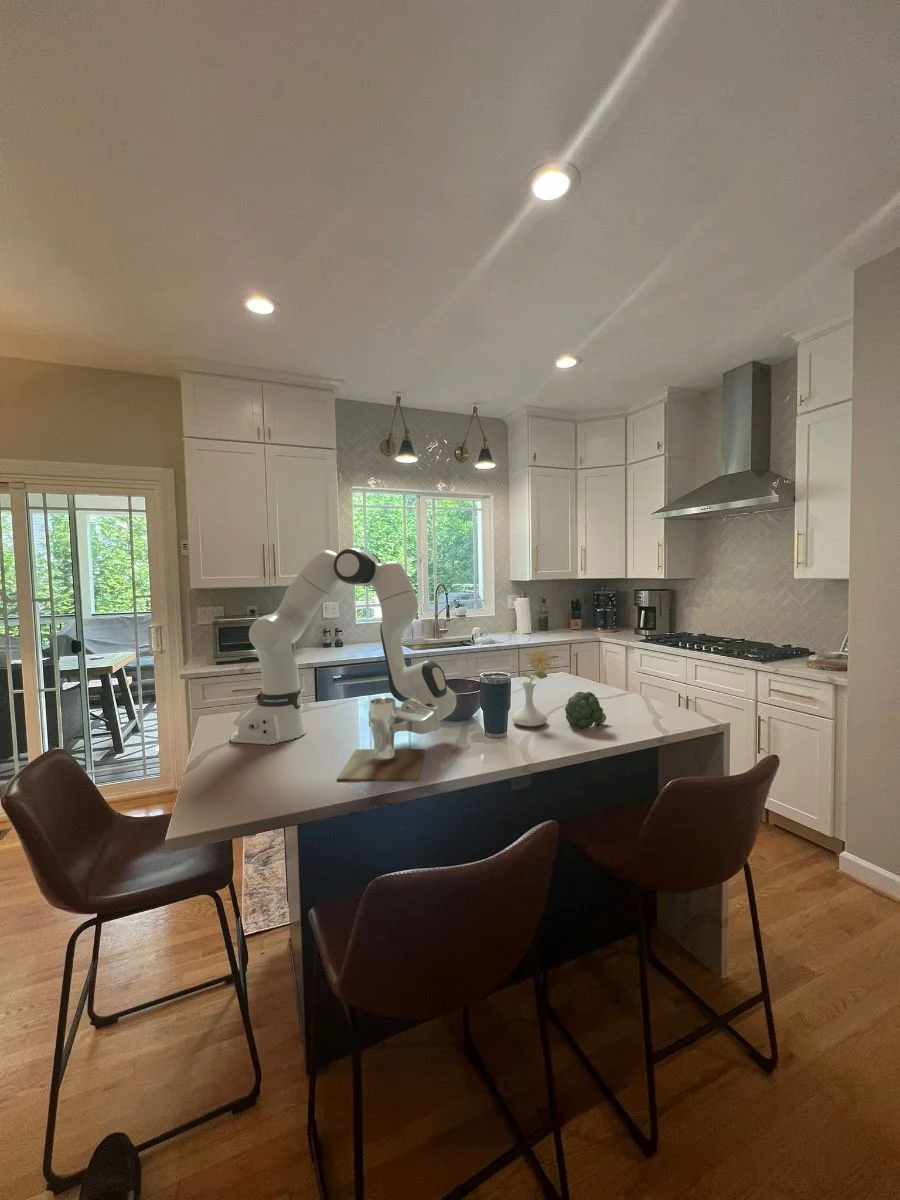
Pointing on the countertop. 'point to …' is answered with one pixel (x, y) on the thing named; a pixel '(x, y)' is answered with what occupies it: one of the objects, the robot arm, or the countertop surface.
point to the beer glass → (383, 727)
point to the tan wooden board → (383, 766)
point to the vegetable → (584, 710)
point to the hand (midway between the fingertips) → (381, 726)
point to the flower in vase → (529, 712)
